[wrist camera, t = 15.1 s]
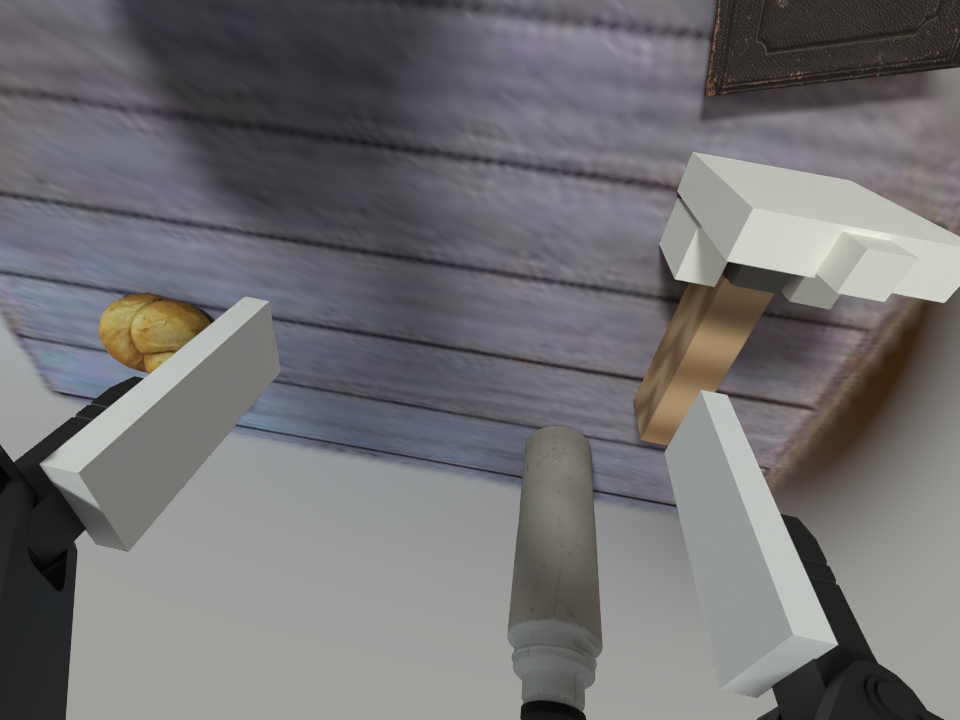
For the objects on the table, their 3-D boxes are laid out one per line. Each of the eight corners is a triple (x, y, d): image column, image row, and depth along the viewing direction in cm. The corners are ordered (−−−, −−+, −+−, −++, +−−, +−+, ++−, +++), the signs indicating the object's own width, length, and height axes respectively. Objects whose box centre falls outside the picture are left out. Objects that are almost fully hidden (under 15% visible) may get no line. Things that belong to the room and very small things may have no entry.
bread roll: (128, 333, 56) (71, 372, 49) (111, 265, 50) (44, 299, 43) (228, 366, 56) (185, 409, 50) (223, 303, 50) (174, 342, 44)
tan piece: (669, 408, 49) (682, 455, 44) (633, 400, 49) (641, 447, 44) (763, 235, 37) (798, 270, 32) (715, 226, 37) (741, 259, 32)
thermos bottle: (550, 477, 59) (541, 748, 37) (512, 441, 56) (477, 711, 34) (603, 456, 55) (628, 743, 33) (566, 416, 52) (566, 701, 30)
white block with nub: (656, 243, 39) (701, 349, 26) (692, 151, 34) (770, 223, 21) (794, 269, 38) (912, 391, 25) (850, 180, 34) (1028, 272, 21)
